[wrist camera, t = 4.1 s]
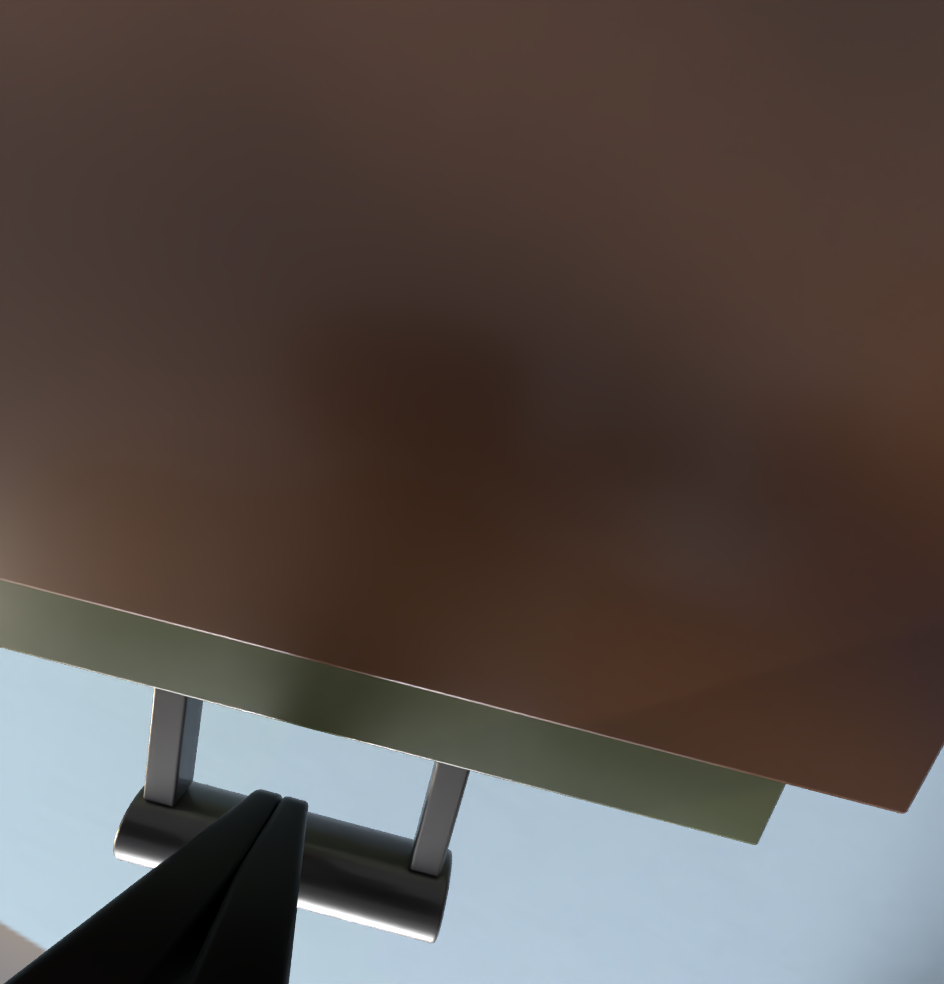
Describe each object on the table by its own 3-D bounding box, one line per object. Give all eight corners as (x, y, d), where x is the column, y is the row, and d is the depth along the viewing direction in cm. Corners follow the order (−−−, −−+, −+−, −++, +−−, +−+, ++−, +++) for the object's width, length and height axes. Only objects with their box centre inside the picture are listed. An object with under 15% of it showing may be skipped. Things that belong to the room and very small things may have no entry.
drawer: (597, 840, 12) (646, 1086, 8) (77, 703, 12) (-148, 870, 8) (1024, -304, 7) (1767, -1290, 3) (148, -494, 7) (-329, -1657, 3)
